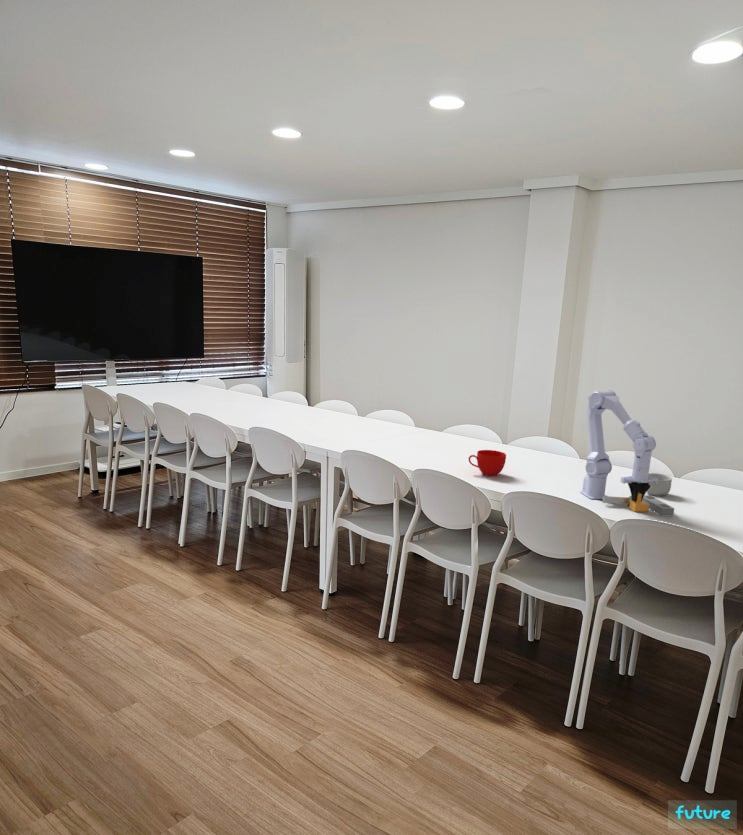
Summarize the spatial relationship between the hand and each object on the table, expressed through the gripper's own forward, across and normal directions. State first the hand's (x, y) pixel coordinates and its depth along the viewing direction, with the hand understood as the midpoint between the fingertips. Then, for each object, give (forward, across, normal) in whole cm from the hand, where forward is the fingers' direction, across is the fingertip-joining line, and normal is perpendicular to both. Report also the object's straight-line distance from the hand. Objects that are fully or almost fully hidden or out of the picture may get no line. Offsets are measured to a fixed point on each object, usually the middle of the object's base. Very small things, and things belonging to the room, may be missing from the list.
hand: (636, 501), depth 239 cm
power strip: (+4, +10, +2) cm, 11 cm away
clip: (+4, -5, +5) cm, 8 cm away
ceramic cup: (+4, -45, +48) cm, 66 cm away
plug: (+4, +1, 0) cm, 4 cm away
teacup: (+4, +22, +23) cm, 32 cm away
